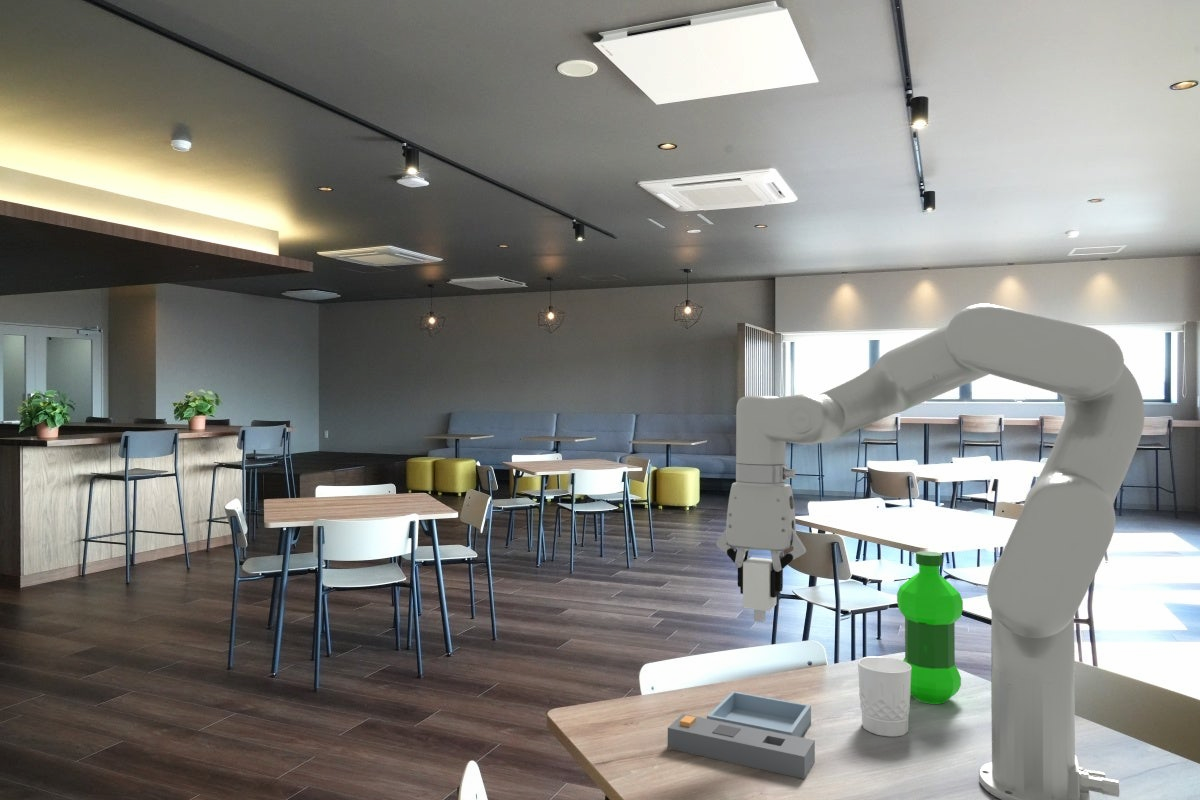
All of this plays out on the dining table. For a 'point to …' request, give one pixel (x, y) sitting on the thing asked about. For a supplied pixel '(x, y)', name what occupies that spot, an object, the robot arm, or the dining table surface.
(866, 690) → the white cup
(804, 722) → the tray
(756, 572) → the block
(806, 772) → the strip
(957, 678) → the plastic bottle
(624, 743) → the dining table surface
